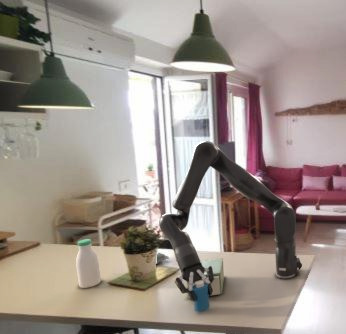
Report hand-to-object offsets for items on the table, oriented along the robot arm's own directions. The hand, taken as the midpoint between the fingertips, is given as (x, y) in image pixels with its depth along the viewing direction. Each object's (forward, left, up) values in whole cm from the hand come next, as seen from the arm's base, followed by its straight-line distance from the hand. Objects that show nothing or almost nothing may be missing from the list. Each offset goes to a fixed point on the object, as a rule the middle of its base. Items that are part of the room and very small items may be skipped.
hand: (203, 297), depth 124 cm
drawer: (+1, -15, -5) cm, 16 cm away
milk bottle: (+51, -37, -6) cm, 64 cm away
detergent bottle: (+1, -2, -5) cm, 5 cm away
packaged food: (+29, -53, -6) cm, 61 cm away
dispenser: (+1, -19, -6) cm, 20 cm away
